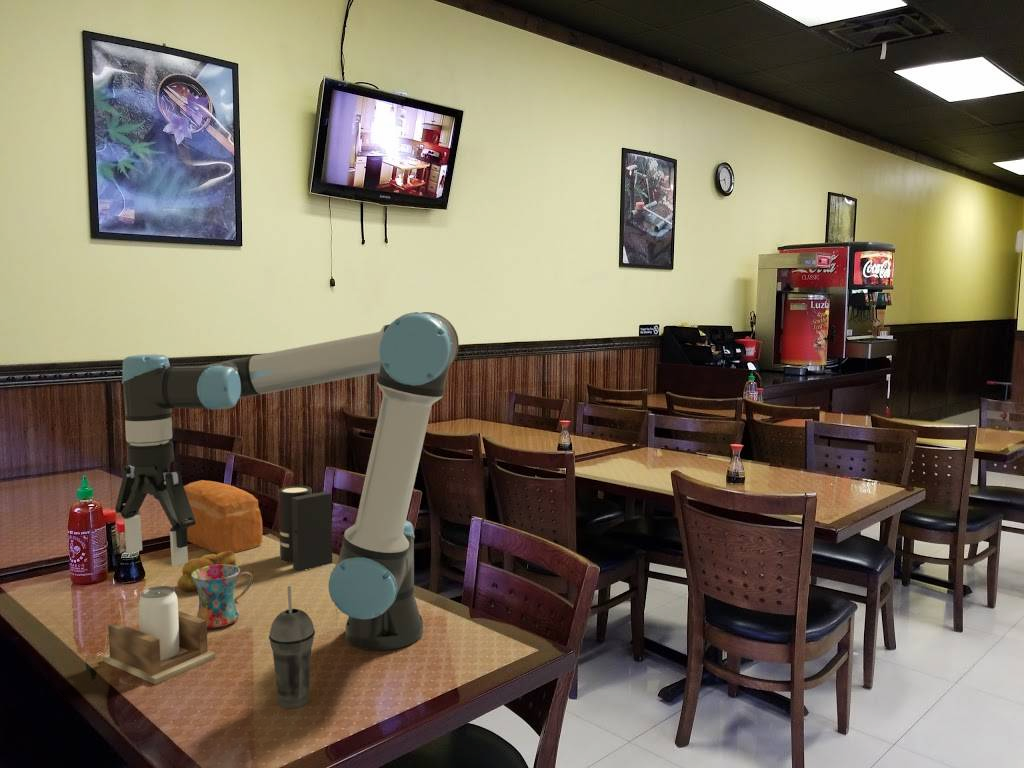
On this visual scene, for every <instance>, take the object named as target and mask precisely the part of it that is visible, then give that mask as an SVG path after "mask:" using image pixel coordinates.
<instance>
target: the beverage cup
mask: <svg viewBox="0 0 1024 768" xmlns="http://www.w3.org/2000/svg"><path fill="white" fill-rule="evenodd" d="M291 587H292V586H290V585H288V586H287V599H288V600H287V602H288V609H285V610H283V611H281V612H280V613H279V614H278V615H277V616H276V617H275V618H274V619H273V621H272V623H271V626H270V630H269V635H268V639H269V643H270V647H271V651H272V656H273V665H274V673H275V682H276V690H277V692H276V693H277V696H278V701H279V702H278V703H279V706H280V707H282V708H284V709H297V708H300V707H302V706H304V705H306V704H307V702H308V700H309V697H308V696H309V690H310V677H311V676H310V674H311V661H312V648H313V644H314V638H315V635H316V631H315V628H314V622H313V621H312V618H311V617H310V616H309V614H308V613H307V612H305V611H303V610H302V609H299V608H293V604H292V603H293V602H292V588H291Z"/></svg>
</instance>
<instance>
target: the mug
mask: <svg viewBox="0 0 1024 768" xmlns="http://www.w3.org/2000/svg"><path fill="white" fill-rule="evenodd" d="M243 575H248V576H249V582H248V584H247V586H246V587H245V588H244V590H243V591H242V592H241V593H240V594H239V595H237V596H236V597H235V588H236V585H237V582H238V580H239V579H240V577H241V576H243ZM191 577H192V579H193V581H194V583H195V585H196V587H197V591H196V592H197V595H198V610H197V615H196V616H195V617H197V618H200V619H203V620H206V621H207V628H210V629H211V628H214V629H215V628H222V627H225V626H229V625H230V624H233V623H234V622H236V621H237V620H238V619H239V618H240V612H239V611H238V609H237V607H236V605H238V604H239V601H237V600H238V599H240V598H242V596H244V595H245V594H246V592H247V591H248V590H249V588H250V587H251V585H252V583H253V580H254V579H253V575H252V574H251V573H250V572H249V571H243V572H241V569H240V567H239V566H237V565H236V566H234V565H227V564H220V565H211V566H206V567H202V568H199V569H197V570H195V571H194V572H193V573H192V574H191Z"/></svg>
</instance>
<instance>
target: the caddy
mask: <svg viewBox="0 0 1024 768" xmlns="http://www.w3.org/2000/svg"><path fill="white" fill-rule="evenodd" d="M178 620H179V652H178V653H177V655H176V656H174V657H172V658H170V659H167V660H165V661H160V642H159V639H157V638H155V637H152V636H150V635H147V634H145V633H142V632H140V630H136V629H135V628H132V627H129V626H127V625H124V624H121V623H119V622H113V623H110V624H108V626H107V629H108V630H107V631H108V647H109V648H108V650H109V652H108V653H107V654H103V655H102V662H104V663H106V664H107V665H110V666H112V667H115V668H116V669H117V668H118V669H119V670H122V671H124V672H127V673H129V674H131V675H133V676H135V677H138V678H139V679H142V680H144V681H146V682H149V683H151V684H153V685H158V684H161V683H163V682H165V681H166V680H169V679H171V678H174V677H176V676H179V675H180V674H183V673H185V672H187V671H189V670H192V669H194V668H196V667H199V666H202V665H203V664H205V663H208V662H210V661H212V660H214V659H216V652H213V651H211V650H209V649H208V627H207V621H206V620H203V619H200V618H197V617H196V616H195V615H191V614H188V613H185V612H183V611H180V610H178Z"/></svg>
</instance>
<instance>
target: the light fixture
mask: <svg viewBox="0 0 1024 768" xmlns="http://www.w3.org/2000/svg"><path fill="white" fill-rule="evenodd" d="M278 515H279V516H278V517H279V518H278V520H279V521H278V523H279V554H280V555H279V556H280V557H279V559H280V561H281V562H284V563H292V569H293V570H295V571H296V572H302V570H303V571H306V570H305V569H307V570H310V568H311V569H314V567H315V568H318V566H319V567H323V566H326V565H331V564H333V527H332V526H333V521H332V520H333V519H332V515H333V514H332V492H331V493H330V492H328V491H320V492H313V491H312V487H310V486H307V485H291V486H285V487H282V488H279V489H278ZM322 565H323V566H322Z"/></svg>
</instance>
